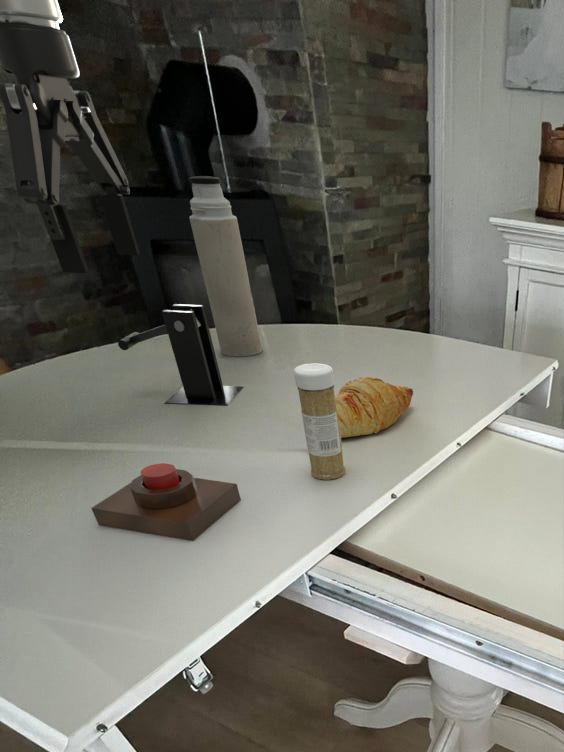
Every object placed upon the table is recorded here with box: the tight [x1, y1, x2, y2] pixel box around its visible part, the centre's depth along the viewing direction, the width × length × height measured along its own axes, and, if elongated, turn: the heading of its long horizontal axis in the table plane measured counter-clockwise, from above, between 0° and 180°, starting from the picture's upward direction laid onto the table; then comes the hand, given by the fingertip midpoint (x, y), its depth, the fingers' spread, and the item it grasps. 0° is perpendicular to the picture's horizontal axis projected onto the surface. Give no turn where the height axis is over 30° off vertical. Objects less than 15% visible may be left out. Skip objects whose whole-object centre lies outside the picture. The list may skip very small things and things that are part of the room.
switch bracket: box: [161, 303, 245, 407], centre depth 93 cm, size 10×9×14 cm
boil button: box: [140, 462, 180, 490], centre depth 66 cm, size 4×4×2 cm
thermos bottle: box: [189, 175, 263, 358], centre depth 110 cm, size 8×8×28 cm
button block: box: [91, 468, 242, 542], centre depth 68 cm, size 12×10×4 cm
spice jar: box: [293, 363, 346, 481], centre depth 74 cm, size 5×5×13 cm
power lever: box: [117, 309, 201, 351], centre depth 90 cm, size 12×5×2 cm, turn 91°
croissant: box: [334, 377, 414, 439], centre depth 90 cm, size 21×10×8 cm, turn 144°
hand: (104, 263), depth 75 cm, fingers open, 13 cm apart
